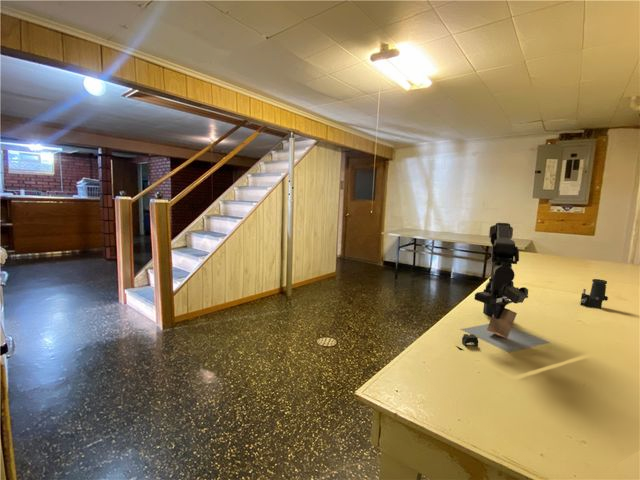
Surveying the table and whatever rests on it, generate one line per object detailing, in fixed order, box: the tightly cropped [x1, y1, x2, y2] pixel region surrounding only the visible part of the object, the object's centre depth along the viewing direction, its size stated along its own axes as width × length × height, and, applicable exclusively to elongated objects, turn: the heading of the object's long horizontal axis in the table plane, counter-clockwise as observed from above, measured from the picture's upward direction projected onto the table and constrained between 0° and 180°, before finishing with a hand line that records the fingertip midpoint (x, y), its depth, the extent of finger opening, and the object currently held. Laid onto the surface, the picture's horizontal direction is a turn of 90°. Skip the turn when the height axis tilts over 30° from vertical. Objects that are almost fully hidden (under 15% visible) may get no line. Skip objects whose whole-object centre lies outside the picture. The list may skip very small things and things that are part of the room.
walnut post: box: [487, 307, 518, 339], centre depth 115 cm, size 5×5×10 cm
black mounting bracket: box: [455, 333, 479, 351], centre depth 108 cm, size 12×7×5 cm, turn 89°
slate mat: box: [460, 323, 550, 353], centre depth 117 cm, size 20×22×1 cm
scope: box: [580, 278, 609, 310], centre depth 156 cm, size 8×14×10 cm
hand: (496, 318), depth 114 cm, fingers closed
